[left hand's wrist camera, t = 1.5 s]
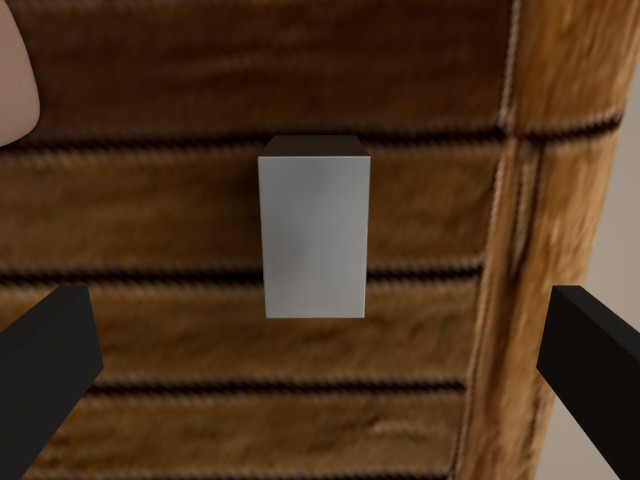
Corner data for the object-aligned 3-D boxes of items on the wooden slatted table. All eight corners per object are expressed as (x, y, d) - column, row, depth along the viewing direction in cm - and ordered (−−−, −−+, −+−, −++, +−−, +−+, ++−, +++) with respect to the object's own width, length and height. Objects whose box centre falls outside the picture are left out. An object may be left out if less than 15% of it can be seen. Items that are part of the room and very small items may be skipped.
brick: (352, 259, 27) (364, 318, 21) (278, 259, 27) (265, 319, 21) (356, 135, 25) (371, 155, 18) (273, 135, 25) (257, 156, 18)
